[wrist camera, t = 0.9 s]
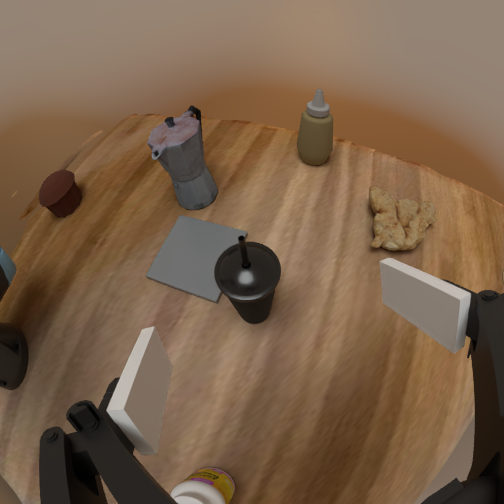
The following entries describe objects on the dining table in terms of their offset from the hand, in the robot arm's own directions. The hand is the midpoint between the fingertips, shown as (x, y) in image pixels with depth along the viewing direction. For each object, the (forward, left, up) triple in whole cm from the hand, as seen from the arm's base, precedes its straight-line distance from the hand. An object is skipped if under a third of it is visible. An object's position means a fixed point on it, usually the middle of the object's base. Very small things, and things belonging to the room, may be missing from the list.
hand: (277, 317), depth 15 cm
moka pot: (-26, +29, -28) cm, 48 cm away
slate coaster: (-19, +15, -27) cm, 36 cm away
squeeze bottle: (-5, +47, -28) cm, 54 cm away
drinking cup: (-6, +9, -28) cm, 30 cm away
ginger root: (+15, +32, -28) cm, 45 cm away
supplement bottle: (-2, -20, -28) cm, 34 cm away
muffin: (-61, +18, -28) cm, 69 cm away
